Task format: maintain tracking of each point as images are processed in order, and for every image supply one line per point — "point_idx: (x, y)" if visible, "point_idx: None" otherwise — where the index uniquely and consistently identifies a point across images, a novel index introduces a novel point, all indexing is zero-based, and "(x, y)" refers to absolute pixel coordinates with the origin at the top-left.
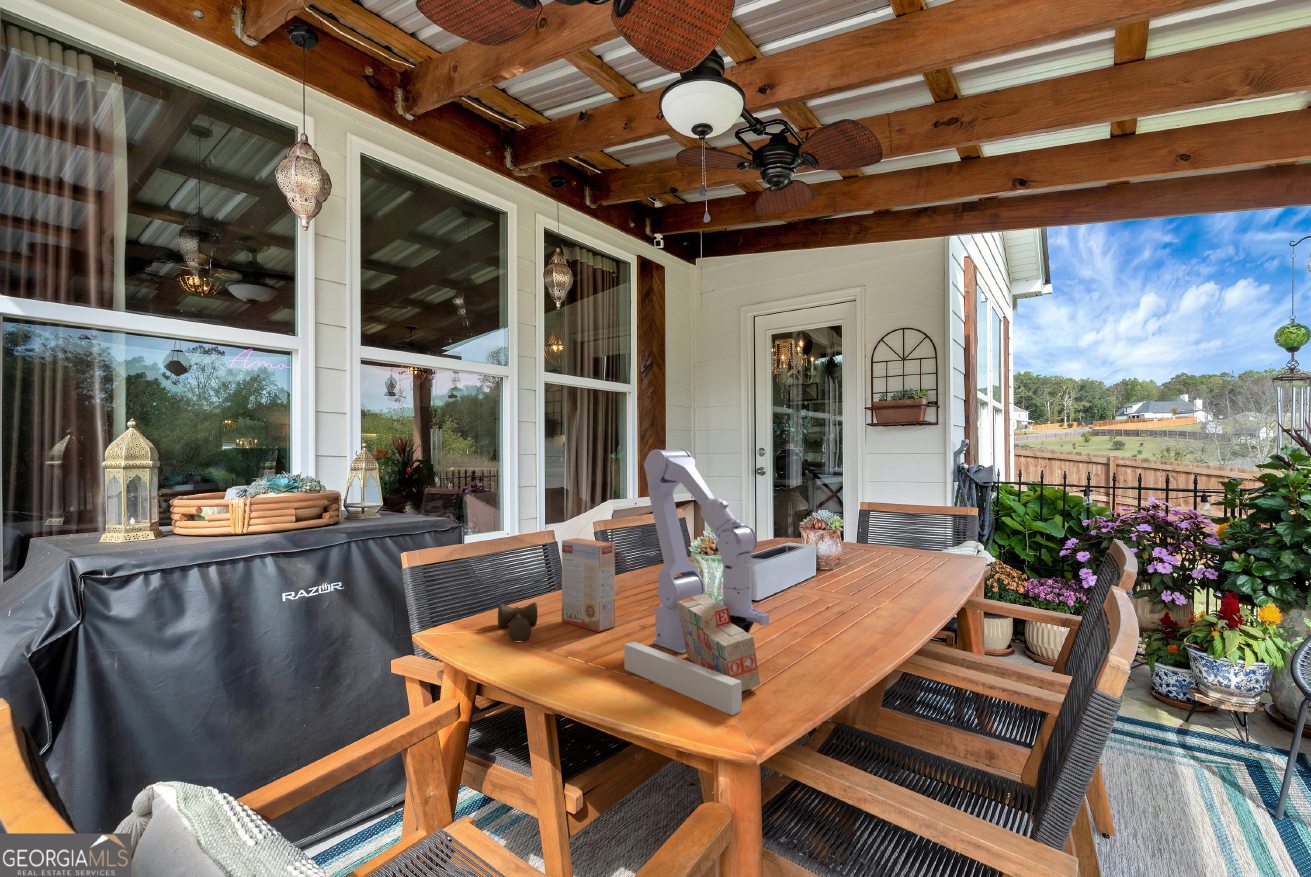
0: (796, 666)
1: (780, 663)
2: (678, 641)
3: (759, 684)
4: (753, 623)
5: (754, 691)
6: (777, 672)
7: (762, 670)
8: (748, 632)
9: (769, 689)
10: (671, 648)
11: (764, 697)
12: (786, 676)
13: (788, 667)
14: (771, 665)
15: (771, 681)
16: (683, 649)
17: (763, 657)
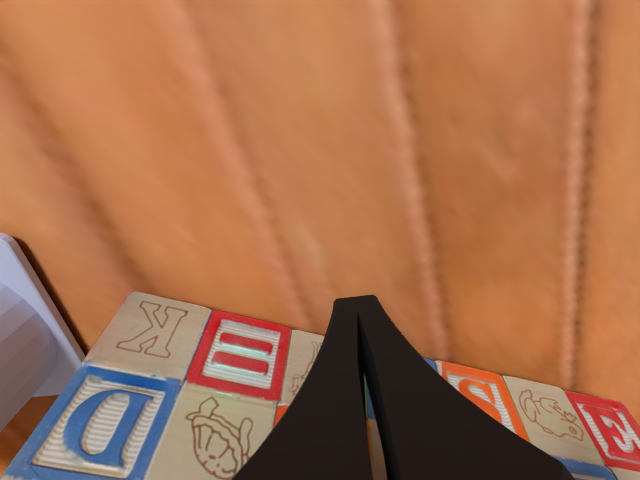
0: (633, 2)
1: (512, 59)
2: (20, 409)
3: (620, 405)
4: (550, 456)
5: (581, 390)
6: (569, 191)
7: (488, 233)
8: (452, 388)
9: (624, 346)
10: (34, 395)
11: (637, 396)
12: (637, 193)
13: (591, 71)
14: (485, 139)
15: (595, 290)
16: (71, 373)
17: (361, 72)
